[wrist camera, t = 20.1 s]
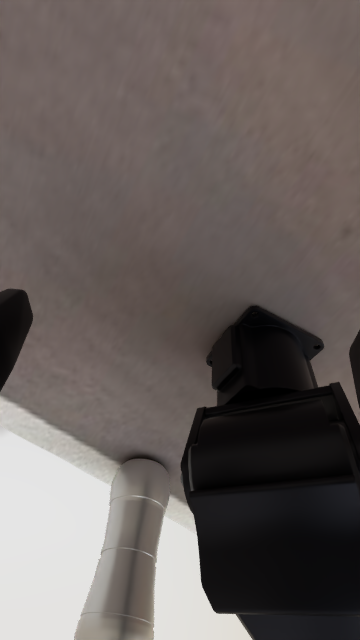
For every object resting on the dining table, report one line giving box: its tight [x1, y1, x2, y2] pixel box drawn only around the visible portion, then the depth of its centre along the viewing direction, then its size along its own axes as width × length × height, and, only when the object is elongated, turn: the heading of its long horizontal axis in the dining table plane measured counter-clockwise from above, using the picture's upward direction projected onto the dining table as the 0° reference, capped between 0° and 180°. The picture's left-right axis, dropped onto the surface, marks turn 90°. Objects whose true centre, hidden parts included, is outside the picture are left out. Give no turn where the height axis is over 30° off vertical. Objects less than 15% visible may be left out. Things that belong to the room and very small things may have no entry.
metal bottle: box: [74, 459, 170, 640], centre depth 30 cm, size 6×7×20 cm
